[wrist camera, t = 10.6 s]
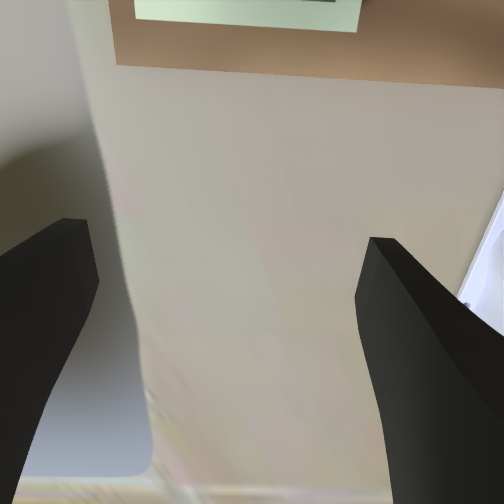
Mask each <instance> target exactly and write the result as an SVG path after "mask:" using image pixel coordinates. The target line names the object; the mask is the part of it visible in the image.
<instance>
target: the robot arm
mask: <svg viewBox="0 0 504 504" xmlns="http://www.w3.org/2000/svg"><path fill="white" fill-rule="evenodd" d="M98 284H99V278H98V273H97V268H96V263H95V258H94V254H93V249H92V244H91V239H90V235H89V230H88V225H87V220H84V219H67V218H62V219H60V220H58V221H56V222H54V223H53V224H51V225H49V226H48V227H46V228H45V229H43V230H41V231H40V232H38V233H36V234H35V235H33V236H31V237H30V238H28V239H27V240H25V241H24V242H22V243H20V244H19V245H17V246H16V247H14V248H12V249H11V250H9V251H8V252H6V253H4V254H3V255H1V256H0V504H12V501H13V498H14V495H15V491H16V488H17V485H18V482H19V479H20V476H21V472H22V470H23V467H24V464H25V461H26V458H27V455H28V451H29V449H30V446H31V443H32V440H33V437H34V435H35V432H36V429H37V426H38V424H39V421H40V418H41V416H42V413H43V410H44V407H45V405H46V402H47V400H48V398H49V396H50V393H51V391H52V389H53V386H54V384H55V383H56V381H57V379H58V377H59V374H60V372H61V370H62V368H63V366H64V364H65V362H66V360H67V358H68V356H69V354H70V352H71V350H72V348H73V346H74V344H75V342H76V340H77V338H78V336H79V334H80V332H81V330H82V328H83V326H84V323H85V321H86V319H87V317H88V315H89V312H90V309H91V306H92V303H93V300H94V297H95V294H96V291H97V287H98ZM463 303H466V304H463ZM355 306H356V315H357V323H358V330H359V335H360V339H361V343H362V347H363V351H364V354H365V358H366V362H367V366H368V370H369V374H370V377H371V381H372V385H373V389H374V392H375V396H376V400H377V404H378V408H379V412H380V417H381V422H382V427H383V433H384V440H385V446H386V453H387V459H388V466H389V473H390V481H391V488H392V496H393V503H394V504H504V191H503V193H502V195H501V198H500V200H499V202H498V204H497V207H496V209H495V211H494V213H493V216H492V218H491V220H490V222H489V225H488V227H487V229H486V231H485V234H484V236H483V238H482V240H481V243H480V245H479V247H478V249H477V252H476V254H475V256H474V258H473V261H472V263H471V265H470V267H469V270H468V272H467V274H466V276H465V279H464V281H463V283H462V285H461V288H460V290H459V292H458V294H457V297H455V296H454V295H453V294H451V293H450V292H449V291H448V290H447V289H446V288H445V287H444V286H443V285H442V284H441V283H440V282H439V281H437V280H436V279H435V278H434V277H433V276H432V275H431V274H430V273H429V272H428V271H427V270H426V269H425V268H424V267H423V266H422V265H421V264H420V263H419V262H418V261H417V260H416V259H415V258H414V257H413V256H412V255H411V254H410V253H409V252H408V251H407V250H406V249H405V248H404V247H403V246H402V245H401V244H400V243H399V242H398V241H396V240H395V239H394V238H379V237H370V239H369V243H368V247H367V251H366V254H365V258H364V262H363V266H362V270H361V274H360V278H359V282H358V286H357V289H356V293H355Z"/></svg>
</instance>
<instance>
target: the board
mask: <svg viewBox="0 0 504 504" xmlns="http://www.w3.org/2000/svg"><path fill="white" fill-rule="evenodd" d="M108 1H109V8H110V16H111V24H112V32H113V40H114V48H115V55H116V63H117V65H128V66H144V67H160V68H177V69H193V70H209V71H225V72H241V73H258V74H274V75H290V76H306V77H323V78H339V79H355V80H371V81H387V82H404V83H420V84H436V85H452V86H469V87H485V88H501V89H504V0H362V3H361V8H360V14H359V20H358V26H357V31H356V32H340V31H324V30H308V29H292V28H276V27H260V26H243V25H227V24H211V23H195V22H179V21H163V20H147V19H136V15H135V4H134V0H108Z"/></svg>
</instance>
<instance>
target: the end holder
mask: <svg viewBox="0 0 504 504" xmlns="http://www.w3.org/2000/svg"><path fill="white" fill-rule="evenodd" d="M361 3H362V0H134V4H135V15H136V19H147V20H163V21H179V22H195V23H211V24H227V25H243V26H260V27H276V28H292V29H308V30H324V31H340V32H356V31H357V26H358V20H359V14H360V8H361Z"/></svg>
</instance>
